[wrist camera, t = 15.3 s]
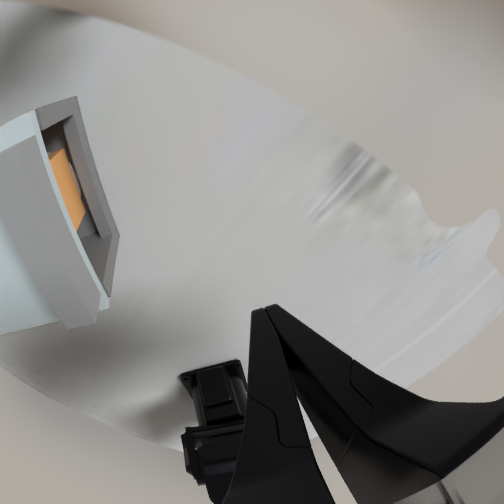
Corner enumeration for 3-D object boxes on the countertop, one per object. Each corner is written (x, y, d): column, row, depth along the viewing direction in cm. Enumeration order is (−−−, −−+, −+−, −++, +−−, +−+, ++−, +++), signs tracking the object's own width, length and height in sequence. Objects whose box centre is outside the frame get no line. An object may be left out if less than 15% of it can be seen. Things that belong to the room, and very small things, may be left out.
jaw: (85, 210, 17) (65, 258, 13) (32, 229, 17) (4, 278, 12) (64, 147, 15) (31, 177, 10) (9, 172, 14) (-32, 208, 10)
